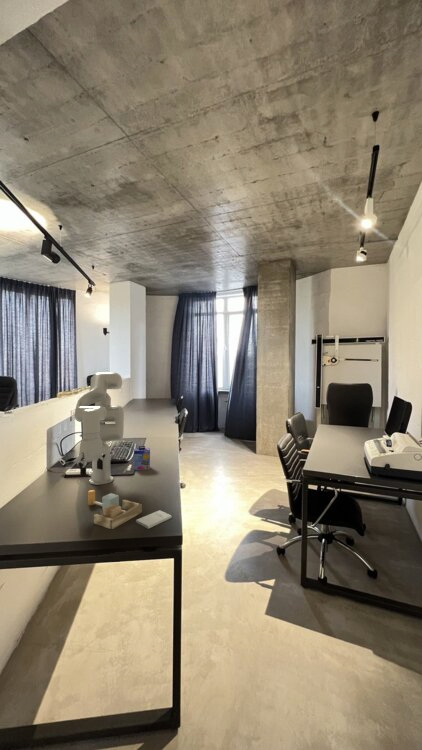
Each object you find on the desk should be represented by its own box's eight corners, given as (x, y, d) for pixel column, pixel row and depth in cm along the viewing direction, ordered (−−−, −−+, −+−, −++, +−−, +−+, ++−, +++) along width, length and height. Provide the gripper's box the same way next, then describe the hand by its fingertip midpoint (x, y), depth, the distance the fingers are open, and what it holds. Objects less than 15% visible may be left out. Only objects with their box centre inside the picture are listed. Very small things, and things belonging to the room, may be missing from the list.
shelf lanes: (94, 523, 135) (93, 514, 134) (124, 507, 150) (124, 499, 150) (112, 529, 130) (112, 520, 130) (141, 512, 145) (141, 504, 145)
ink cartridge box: (133, 470, 202) (133, 447, 201) (133, 467, 207) (133, 444, 207) (150, 469, 204) (150, 446, 204) (149, 466, 210) (149, 443, 209)
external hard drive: (135, 523, 136) (159, 513, 145) (148, 530, 130) (171, 519, 140) (135, 519, 136) (159, 509, 145) (148, 526, 130) (171, 515, 140)
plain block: (103, 523, 135) (103, 508, 135) (112, 518, 139) (112, 504, 139) (112, 526, 133) (112, 511, 132) (121, 520, 137) (121, 506, 137)
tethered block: (85, 505, 152) (84, 492, 152) (93, 501, 156) (93, 488, 156) (110, 512, 144) (110, 499, 144) (118, 508, 149) (118, 495, 148)
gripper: (100, 431, 162) (100, 465, 163) (69, 438, 146) (70, 476, 147) (111, 432, 158) (111, 468, 159) (81, 441, 143) (82, 479, 144)
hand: (91, 472), depth 153 cm, fingers open, 9 cm apart
